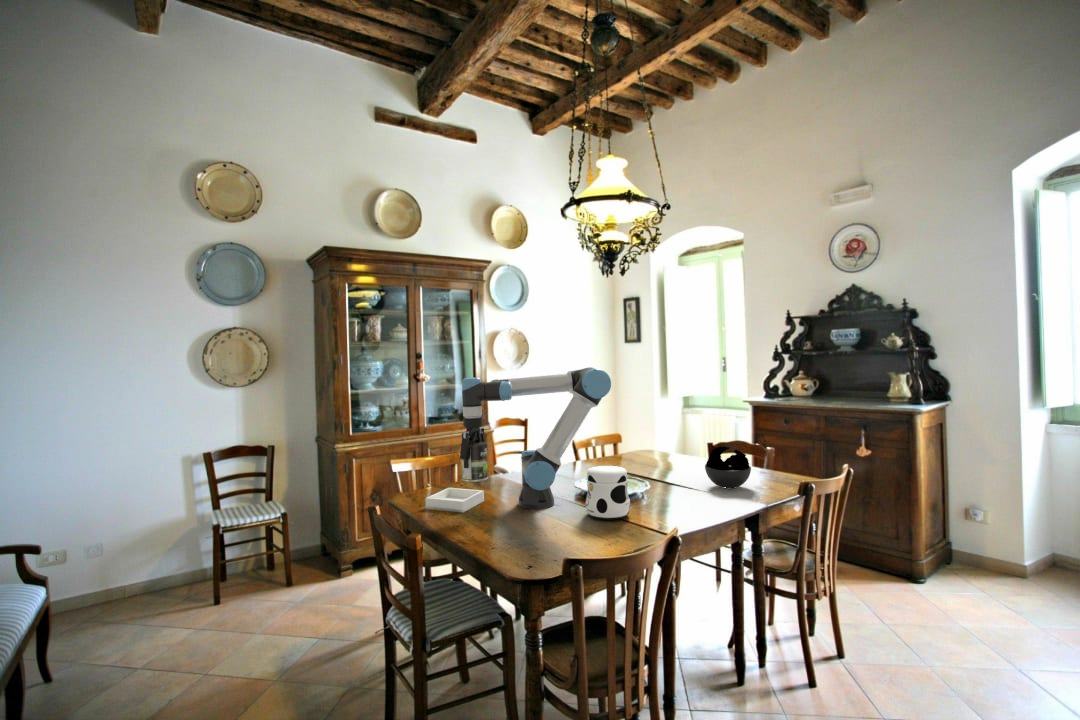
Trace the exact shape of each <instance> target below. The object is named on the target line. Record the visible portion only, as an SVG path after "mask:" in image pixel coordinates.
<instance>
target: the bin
mask: <svg viewBox="0 0 1080 720" xmlns="http://www.w3.org/2000/svg"><path fill="white" fill-rule="evenodd" d="M483 502H485V490H481V489H472V488H471V489H470V488H457V487H456V488H455V487H447V488H445V489H442V490H440V491H438V492H436V493H434V494H432V495H429V496H427V497H425V509H426V510H433V511H434V510H435V511H444V512H445V511H446V512H455V513H463V514H464V513H465V512H466V511H469V510H471V509H472V508H475V507H476V506H478V505H480V504H482V503H483Z"/></svg>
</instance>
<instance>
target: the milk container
mask: <svg viewBox="0 0 1080 720" xmlns="http://www.w3.org/2000/svg"><path fill="white" fill-rule="evenodd" d="M586 473H587V474H586V479H587V481H586V484H587V491H586V492H587V493H586V498H585V509H586V512H587V514H588V515H589V516H590V517H592V518H595V519H600V520H619V519H621V518H625V517H626V516H628V515H629V513H630V510H631V499H630V497H629V492H628V473H627V469H625V468H624V467H621V466H615V465H599V466H593V467H590V468H588V469H587V472H586Z"/></svg>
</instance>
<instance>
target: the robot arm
mask: <svg viewBox="0 0 1080 720" xmlns="http://www.w3.org/2000/svg"><path fill="white" fill-rule="evenodd" d="M611 388H612V380H611V377H610V375H609V374H608V372H606V371H605V370H603V369H602V368H600V367H590V366H589V367H585V368H582V369H575V370H568V371H567V372H566V373H561V374H559V373H558V374H547V375H539V376H538V375H537V376H528V377H526V376H525V377H518V378H517V377H516V378H507V379H492V380H490V381H489V382H488V381H487V382H485V381H482V378H480V377H464V378H463V379H462V380H461V395H462V396H461V399H462V401H461V402H462V416H463V418H462V420H463V421H462V424H463V428H466V430H465V432H461V443H460V444H461V445H460V454H459V459H460V460H461V461H462V460H464V476H468V477H471V459H469V458H470V448H468V446H472V445H473V443H474V442H475V443H481V442H486V437H485V428H484V427H483V417H482V416H483V405H482V403H483V402H497V401H502V402H505V401H510V400H512V398H513V397H521V396H532V395H544V394H555V393H566V392H567V393H569V394H572V398H571V400H570V401H569V403H568V404H567V406H566V408H565V409H564V411H563V412H562V414H561V416H560V417H559V419H558V421H557V422H556V423H555V425H554V427H553V429H552V430H551V432H550V433H549V435H548V437H547V439H546V440H545V442H544V443H543V445H542V447H538V448H536V449H532V450H523V451H522V452H521V456H520V460H521V483H522V484H521V489H520V493H519V497H518V506H519V507H521V508H523V509H527V510H528V509H529V510H543V509H548V508H551V507H553V506H554V505H555V497H554V494H553V492H552V489H551V486H552V485H553V484H554V482H555V479H556V474H557V472H558V470H559V469H560V467H561V465H562V463H561V462H562V461H561V458H562V457H563V455H564V454H565V452H566V450H567V448H568V447H569V445H570V444H571V442H572V440H573V439H574V437H575V435H576V433H578V430H579V429H580V427H581V426H582V424H583V423H584V421H585V419H586V417H587V416H588V414H589V413H590V411H591V409H592V408H596V407H598V406H599V404H600V403H601V401H602V399H603V398H604V397H606V396H607V395H609V392H610V391H611ZM486 443H487V442H486Z"/></svg>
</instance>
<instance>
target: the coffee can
mask: <svg viewBox="0 0 1080 720" xmlns="http://www.w3.org/2000/svg"><path fill="white" fill-rule="evenodd" d="M487 444H488V442H481V443H475V442H474V443H473V445H472V446H468V448H470V458H469V459H471V477H468V476H464V460H461V476H462V477H461V480H462V481H463V482H467V483H468V482H469V483H475V482H476V483H477V482H484V481H486V480H488V479H489V477H488V448H487V447H488V446H487ZM460 446H461V443H460Z"/></svg>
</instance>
